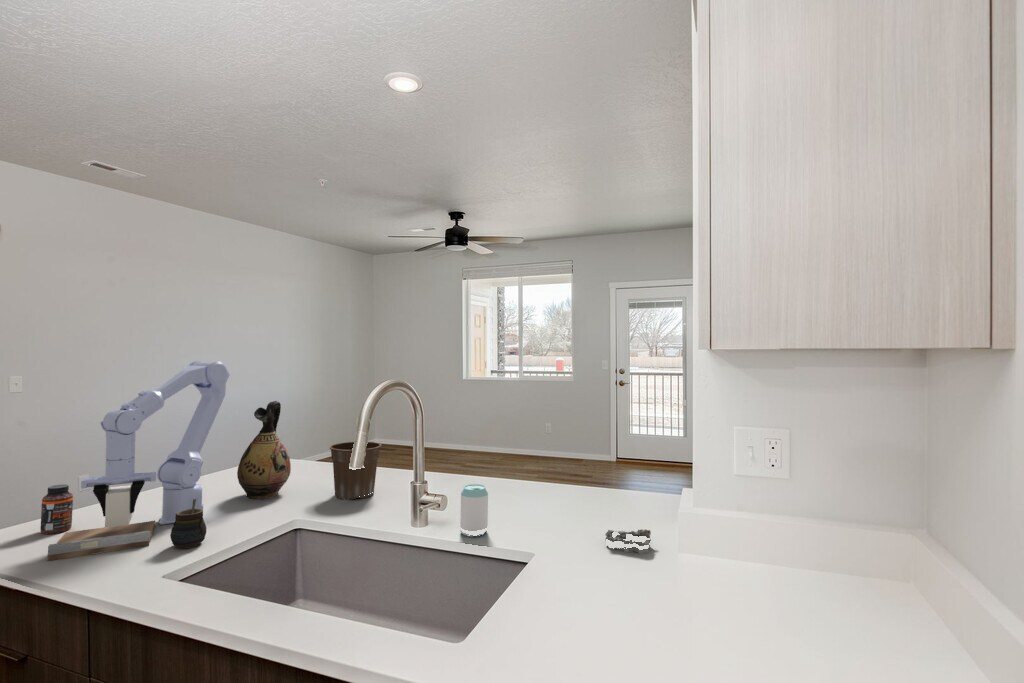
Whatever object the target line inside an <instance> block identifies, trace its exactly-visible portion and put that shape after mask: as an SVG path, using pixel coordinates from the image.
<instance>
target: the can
mask: <svg viewBox="0 0 1024 683" xmlns="http://www.w3.org/2000/svg"><path fill="white" fill-rule="evenodd" d="M488 512H489V492H488V490H487V488H486V485H483V484H478V483H473V484H466V485H464V486H463V489H462V491H461V492H460V520H459V521H460V523H459V524H460V525H459V526H460V527H461V528H462V529H464V530H468V531H477V530H482V529H485V528H487V526H488V525H489V524H488V523H489V520H488V519H489V518H488V517H489V513H488ZM460 527H459V528H460ZM488 527H489V526H488ZM459 532H460V533H461V534H462V535H463V536H465V537H469V538H474V537H473V535H470V536H467V535H469V534H466V533H463V532H462V531H461V530H460V529H459ZM479 535H482V534H479ZM479 535H477V536H479ZM482 536H483V535H482Z"/></svg>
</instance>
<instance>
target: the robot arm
mask: <svg viewBox="0 0 1024 683" xmlns="http://www.w3.org/2000/svg"><path fill="white" fill-rule="evenodd" d="M229 377H230V372H229V370H228V368H227V366H226V365H225V363H224V362H222V361H201V360H195V361H192V362H190V363H189V364H187V365H186V366H185V365H184V367H183V368H182V369H181V370H180V371H179V372H178V373H177V374H175V375H174V376H172V377H171V378H170V379H168V380H167V381H166V382H165V383H163V384H162V385H161V386H159V387H158V388H157V389H155V390H152V389H151V390H150V389H147V390H145V391H144V390H141V391H139V392H138V393H137V395H138V396H137V397H135V398H133V399H132V400H130V401H129V402H127V403H123V404H121V406H120V408H119V409H118V408H117V409H112V410H110V411H108V412H107V413H106V414H105V415H104V417H103V419H102V421H100V426H101V428H102V430H103V431H104V432H105V439H106V440H105V445H106V446H105V469H104V470H105V473H104V474H105V475H103V476H102V475H101V476H96V477H90V478H83V479H81V481H80V489H82V490H84V489H87V488H93V490H92V492H93V495H94V496H95V497H96V499H97V500H98V503H99V505H100V507H101V511H102V516H103V517H105V508H106V493H107V492H108V490H109V489H110V486H114V485H125V484H131V504H130V513H132V514H134V512H135V507H136V504H137V500H138V498H139V495H140V492H141V491H142V490H143V488H144V485H145V482H156V481H157V479H158V481H159V482H160V483H161V487H162V506H161V508H162V510H161V512H162V513H161V515H160V519H159V522H158V524H159V525H160V526H161V525H169V524H174V523H175V520H176V519H175V517H176V515H175V514H176V513H178V512H179V511H182V510H187V509H192V506H193V499H196V503H195V509H202V510H203V511H204V504H203V484H202V483H201V484H197V482H199V480H200V478H201V476H202V466H203V463H204V460H203V458H202V456H201V455H200V453H201V450H202V448H203V446H204V444H205V442H206V440H207V438H208V435H209V433H210V430H211V428H212V427H213V423H214V422H215V419H216V417H217V415H218V412H219V410H220V408H221V406H222V403H223V401H224V399H225V396H226V389H227V388H226V387H227V382H228V380H229ZM190 385H193V386H194V387H195V388H196V389H197V390H198V391H199V394H200V395H201V397H200V400H199V401H198V404H197V407H196V409H195V411H194V412H193V415H192V418H191V419H190V421H189V423H188V426H187V427H186V430H185V432H184V434H183V437H182V439H181V440H180V443H179V445H178V446H177V449H175V450H174V451H172V452H171V453H169V454H168V456H167V458H166V459H165V461H163V463H161V464H160V466H158V468H157V472H156V471H153V472H150V471H149V472H135V469H136V468H135V467H136V466H135V464H136V463H135V462H136V432H137V431H139V430H140V429H141V427H142V424H143V422H144V421H145V420H147V419H148V418H150V417H151V416H152V415H154V414H155V413H156V412H158V411H159V410H161V409H162V408H163V407H164V405H165V401H166V400H167V399H169V398H171V397H172V396H173V395H175V394H178V393H179V392H180V391H182V390H184V389H185V388H187V387H188V386H190Z"/></svg>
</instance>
